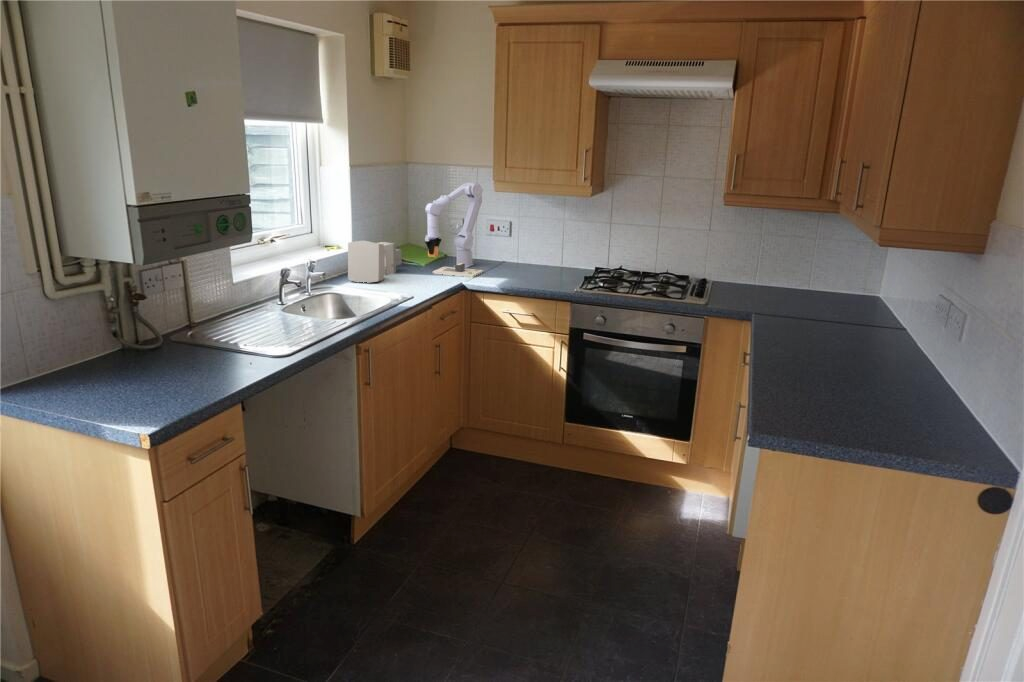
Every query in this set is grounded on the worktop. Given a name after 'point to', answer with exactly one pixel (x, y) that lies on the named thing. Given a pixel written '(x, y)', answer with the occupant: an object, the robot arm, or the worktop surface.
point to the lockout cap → (434, 252)
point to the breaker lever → (459, 267)
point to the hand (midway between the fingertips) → (433, 253)
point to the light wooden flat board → (457, 272)
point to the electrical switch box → (365, 261)
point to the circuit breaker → (391, 257)
